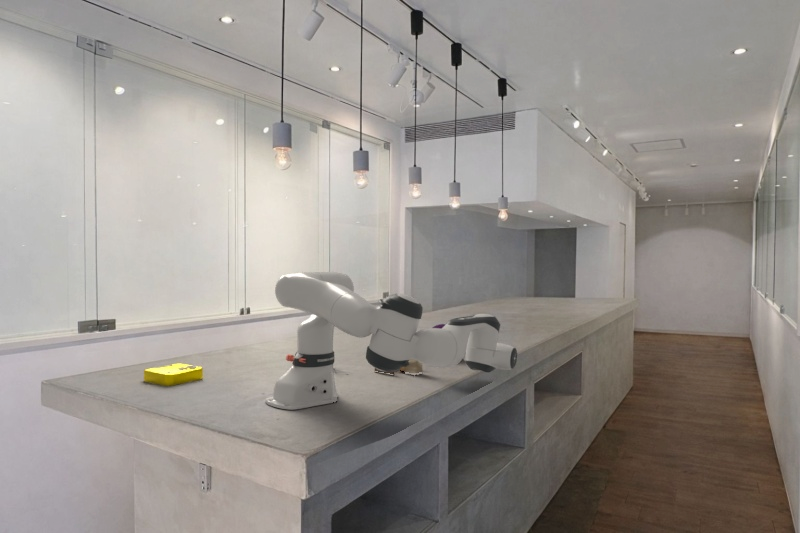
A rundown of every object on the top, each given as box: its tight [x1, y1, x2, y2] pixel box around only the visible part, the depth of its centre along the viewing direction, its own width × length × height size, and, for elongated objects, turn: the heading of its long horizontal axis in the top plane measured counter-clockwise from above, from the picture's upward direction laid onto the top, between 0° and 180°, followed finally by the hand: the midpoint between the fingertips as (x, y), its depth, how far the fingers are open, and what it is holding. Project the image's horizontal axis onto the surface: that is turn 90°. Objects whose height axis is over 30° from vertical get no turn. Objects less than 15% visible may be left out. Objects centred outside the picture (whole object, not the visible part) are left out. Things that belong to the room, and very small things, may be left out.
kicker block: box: [403, 359, 423, 373], centre depth 202 cm, size 4×5×10 cm
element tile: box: [143, 362, 204, 387], centre depth 189 cm, size 15×15×5 cm
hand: (441, 346), depth 195 cm, fingers open, 8 cm apart
